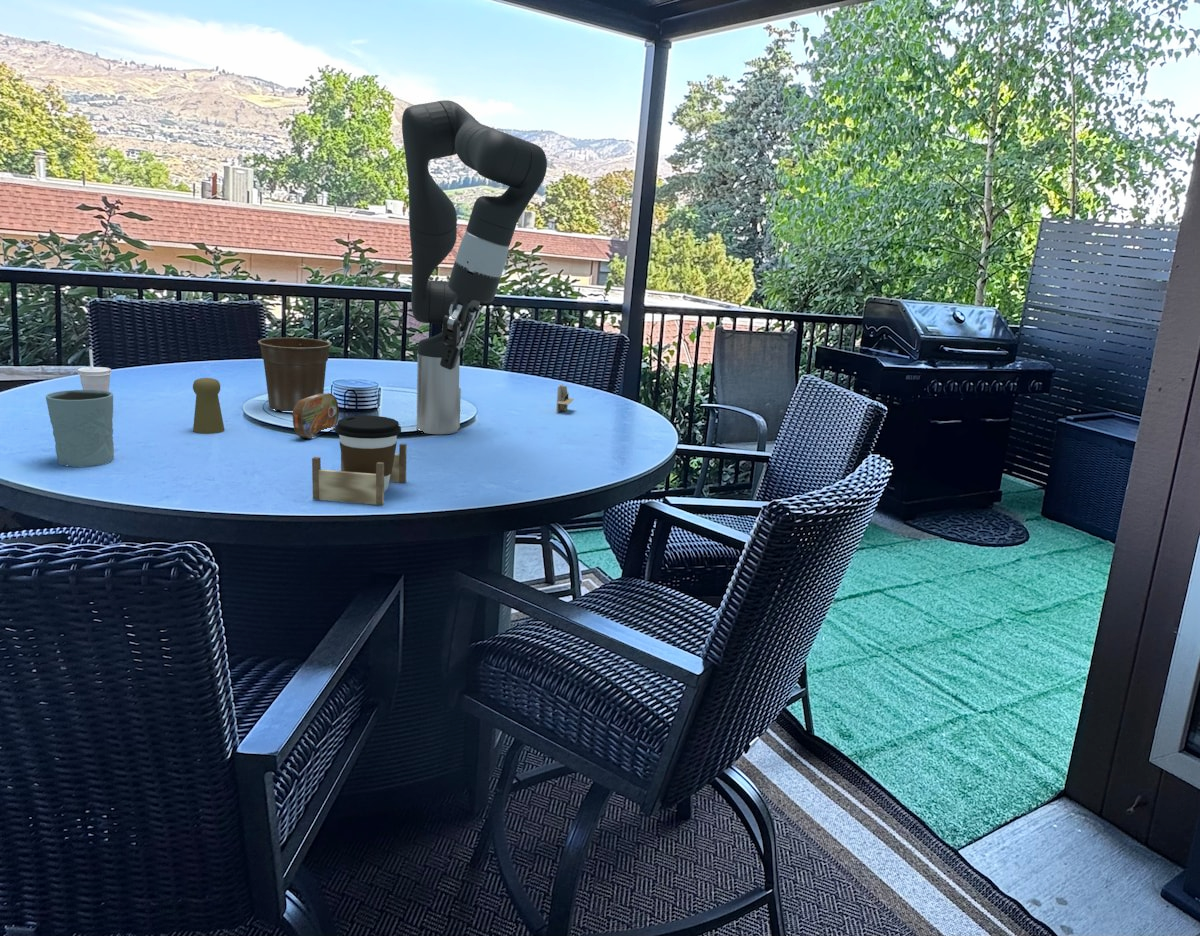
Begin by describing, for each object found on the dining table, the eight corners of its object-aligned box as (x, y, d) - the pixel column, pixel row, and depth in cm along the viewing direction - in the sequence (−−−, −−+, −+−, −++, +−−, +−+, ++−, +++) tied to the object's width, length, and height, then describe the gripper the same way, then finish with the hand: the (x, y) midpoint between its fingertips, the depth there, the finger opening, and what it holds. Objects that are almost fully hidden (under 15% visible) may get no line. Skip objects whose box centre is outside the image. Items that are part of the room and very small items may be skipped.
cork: (231, 430, 179) (228, 378, 176) (207, 435, 173) (204, 382, 170) (210, 425, 181) (207, 375, 178) (186, 430, 176) (183, 378, 173)
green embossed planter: (71, 471, 144) (64, 402, 140) (40, 460, 149) (33, 393, 145) (130, 460, 152) (125, 395, 149) (99, 450, 157) (93, 386, 154)
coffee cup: (321, 492, 142) (320, 422, 139) (361, 477, 152) (361, 412, 149) (376, 503, 139) (376, 432, 136) (413, 487, 149) (414, 420, 145)
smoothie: (74, 413, 183) (68, 348, 179) (101, 408, 189) (95, 346, 185) (95, 417, 181) (89, 352, 177) (121, 412, 187) (116, 349, 183)
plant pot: (340, 414, 201) (340, 346, 197) (270, 417, 192) (267, 347, 188) (320, 401, 214) (319, 337, 210) (253, 404, 205) (250, 337, 201)
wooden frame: (406, 481, 152) (406, 443, 150) (382, 505, 138) (382, 464, 136) (343, 476, 152) (342, 438, 150) (312, 499, 138) (312, 458, 136)
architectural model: (572, 412, 225) (574, 384, 223) (568, 417, 218) (569, 388, 216) (560, 411, 225) (561, 383, 224) (555, 415, 219) (556, 387, 217)
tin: (304, 442, 173) (303, 402, 171) (290, 440, 174) (289, 400, 172) (340, 428, 187) (340, 390, 185) (327, 426, 188) (326, 389, 186)
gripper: (469, 254, 139) (439, 351, 144) (443, 259, 126) (411, 366, 132) (511, 271, 138) (479, 368, 144) (489, 278, 126) (455, 384, 132)
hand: (447, 367), depth 138 cm, fingers closed
